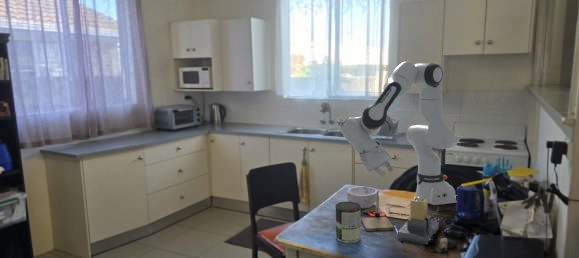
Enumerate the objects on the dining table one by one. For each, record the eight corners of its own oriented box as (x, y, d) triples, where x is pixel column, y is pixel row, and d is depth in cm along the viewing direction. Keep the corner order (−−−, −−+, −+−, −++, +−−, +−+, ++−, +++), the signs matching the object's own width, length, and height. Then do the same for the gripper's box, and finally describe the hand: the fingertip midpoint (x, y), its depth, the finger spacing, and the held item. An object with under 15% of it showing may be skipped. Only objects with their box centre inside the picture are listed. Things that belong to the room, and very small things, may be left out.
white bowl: (341, 205, 210) (341, 190, 209) (359, 198, 220) (359, 184, 219) (365, 213, 199) (365, 197, 198) (383, 205, 209) (383, 190, 208)
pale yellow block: (414, 214, 176) (414, 196, 175) (427, 216, 173) (427, 198, 172) (410, 218, 172) (410, 200, 170) (423, 221, 169) (424, 202, 167)
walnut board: (386, 219, 190) (386, 217, 190) (394, 229, 178) (394, 227, 178) (360, 220, 190) (360, 218, 189) (366, 231, 178) (366, 228, 178)
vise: (410, 223, 184) (411, 189, 182) (438, 228, 178) (439, 193, 175) (397, 238, 169) (398, 201, 167) (427, 244, 163) (428, 206, 160)
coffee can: (331, 239, 171) (330, 206, 169) (344, 230, 179) (343, 199, 176) (352, 245, 164) (352, 211, 162) (365, 236, 172) (365, 204, 170)
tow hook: (367, 212, 201) (368, 218, 192) (367, 186, 200) (368, 191, 190) (385, 212, 200) (386, 219, 191) (385, 187, 198) (387, 192, 189)
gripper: (362, 148, 172) (384, 174, 168) (380, 141, 189) (401, 164, 185) (352, 157, 175) (374, 183, 172) (371, 149, 192) (391, 172, 188)
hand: (388, 173), depth 179 cm, fingers open, 8 cm apart
